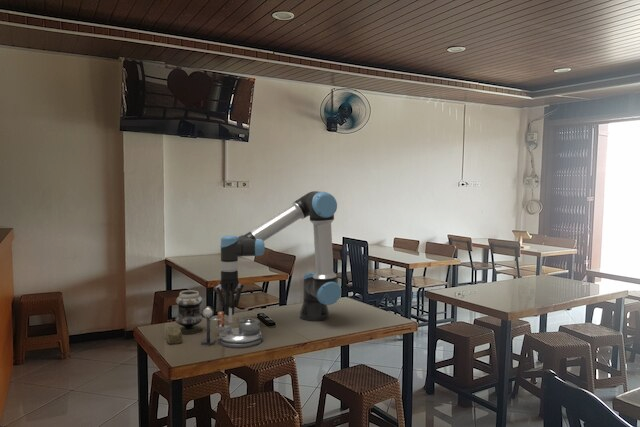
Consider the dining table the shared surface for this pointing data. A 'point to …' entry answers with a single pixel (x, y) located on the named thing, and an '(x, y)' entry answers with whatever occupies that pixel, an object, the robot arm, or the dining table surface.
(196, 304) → the apothecary jar
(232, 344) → the turntable base
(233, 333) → the turntable
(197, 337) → the dining table surface
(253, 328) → the cover
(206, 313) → the dial gauge stand
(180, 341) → the stone block
